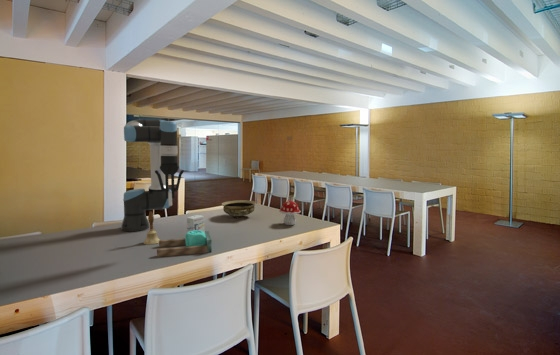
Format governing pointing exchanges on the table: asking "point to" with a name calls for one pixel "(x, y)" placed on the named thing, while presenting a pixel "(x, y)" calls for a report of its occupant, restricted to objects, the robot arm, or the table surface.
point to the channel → (183, 250)
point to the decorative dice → (195, 238)
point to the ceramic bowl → (239, 208)
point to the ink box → (196, 223)
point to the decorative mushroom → (289, 212)
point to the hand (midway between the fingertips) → (170, 205)
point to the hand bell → (151, 232)
